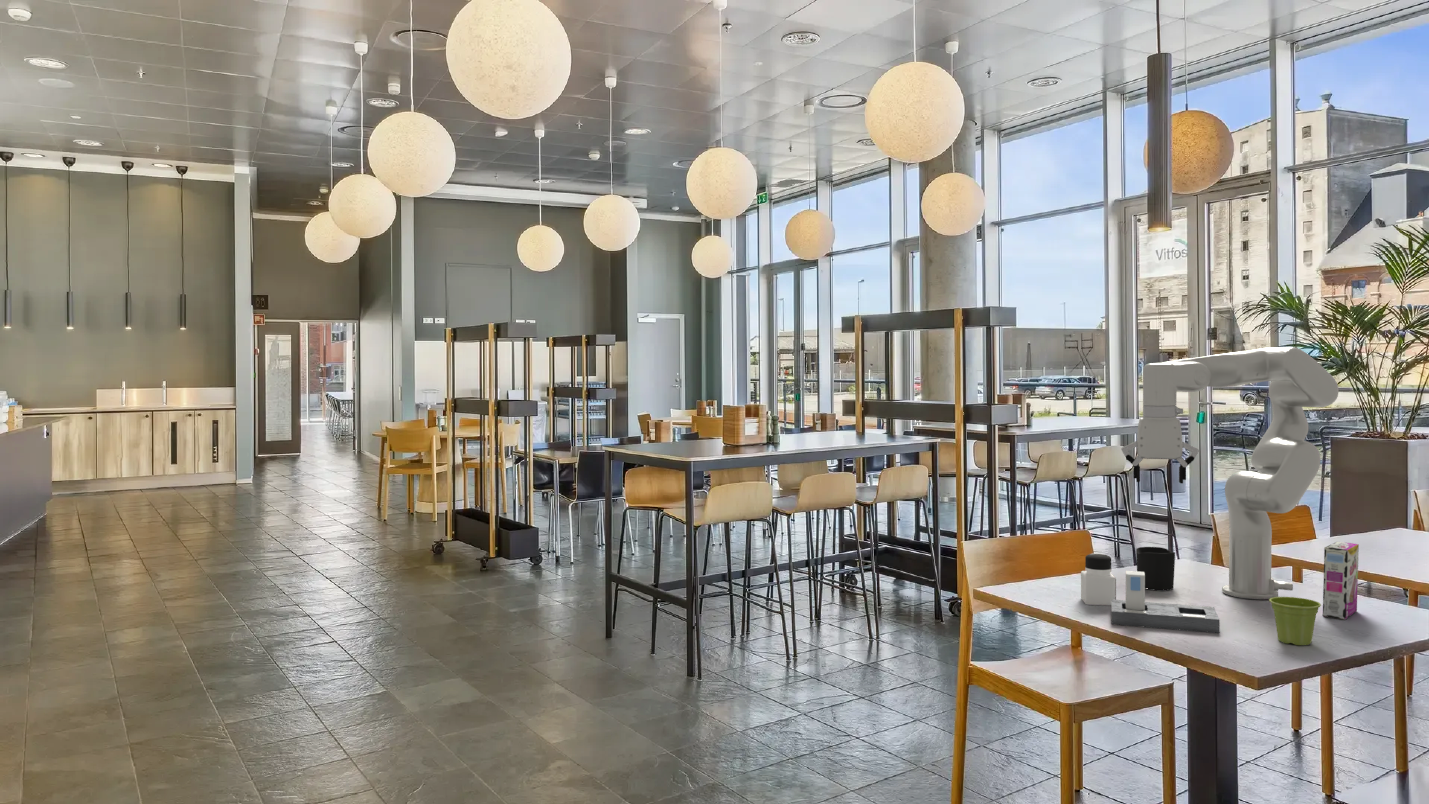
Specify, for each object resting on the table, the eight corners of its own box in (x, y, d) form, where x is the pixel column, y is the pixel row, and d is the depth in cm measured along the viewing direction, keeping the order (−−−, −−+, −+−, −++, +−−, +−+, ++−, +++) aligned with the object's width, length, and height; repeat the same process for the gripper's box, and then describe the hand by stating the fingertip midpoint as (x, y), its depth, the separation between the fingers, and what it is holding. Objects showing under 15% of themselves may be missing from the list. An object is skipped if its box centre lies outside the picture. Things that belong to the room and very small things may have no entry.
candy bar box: (1347, 620, 220) (1347, 549, 219) (1322, 617, 223) (1322, 547, 223) (1358, 611, 228) (1359, 543, 227) (1334, 608, 231) (1335, 540, 231)
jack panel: (1213, 619, 222) (1213, 606, 222) (1219, 633, 211) (1219, 618, 211) (1111, 611, 231) (1111, 598, 231) (1111, 624, 220) (1111, 610, 219)
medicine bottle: (1116, 606, 236) (1116, 557, 236) (1085, 605, 237) (1085, 557, 237) (1110, 599, 243) (1110, 552, 242) (1080, 598, 244) (1080, 551, 244)
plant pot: (1259, 636, 208) (1259, 597, 208) (1300, 634, 209) (1300, 595, 209) (1288, 649, 199) (1288, 607, 199) (1331, 647, 200) (1331, 606, 200)
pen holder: (1179, 586, 256) (1179, 549, 255) (1168, 593, 249) (1168, 554, 248) (1142, 581, 262) (1142, 545, 261) (1131, 588, 255) (1131, 550, 254)
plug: (1144, 618, 224) (1144, 571, 224) (1144, 623, 220) (1145, 576, 220) (1125, 617, 226) (1125, 570, 225) (1125, 621, 222) (1126, 574, 221)
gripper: (1197, 412, 236) (1197, 481, 237) (1121, 412, 243) (1121, 479, 243) (1200, 414, 229) (1199, 485, 230) (1121, 413, 236) (1121, 482, 236)
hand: (1159, 482), depth 237 cm, fingers open, 9 cm apart
